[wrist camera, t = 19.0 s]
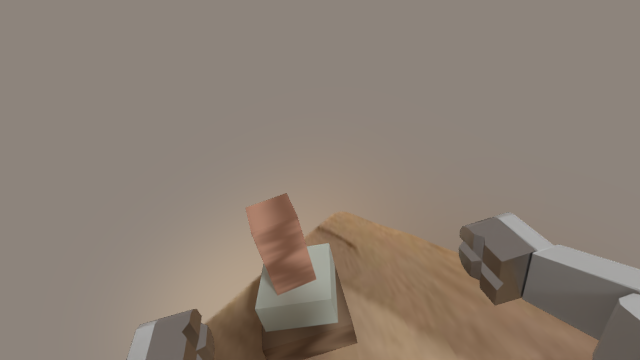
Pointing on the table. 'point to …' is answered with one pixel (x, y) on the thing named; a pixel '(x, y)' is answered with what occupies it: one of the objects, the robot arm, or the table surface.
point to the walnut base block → (311, 335)
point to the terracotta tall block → (281, 243)
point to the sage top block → (301, 297)
